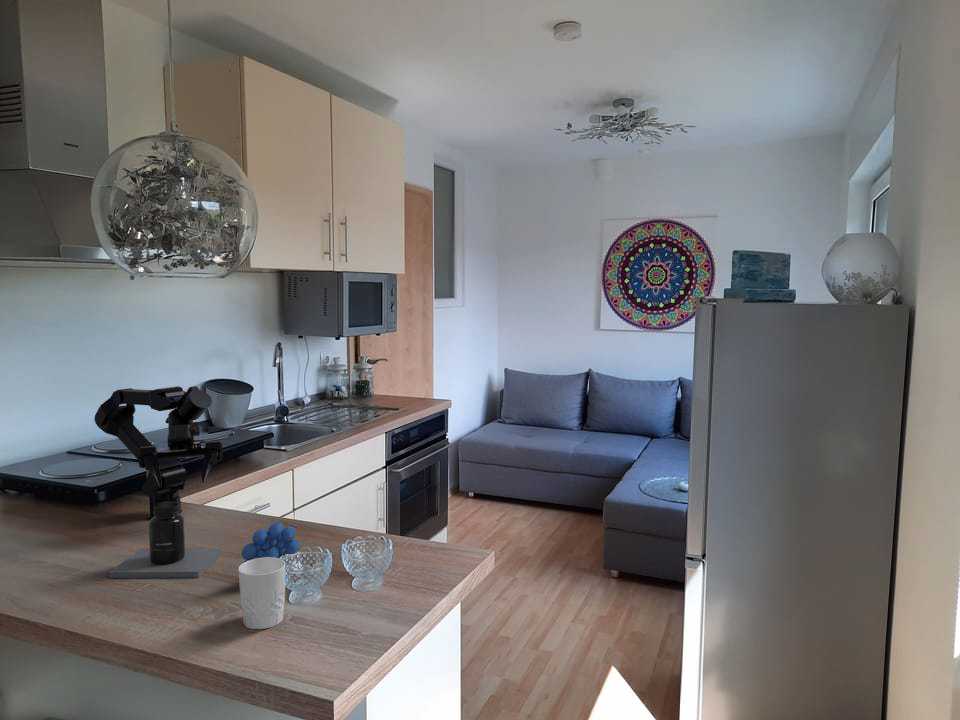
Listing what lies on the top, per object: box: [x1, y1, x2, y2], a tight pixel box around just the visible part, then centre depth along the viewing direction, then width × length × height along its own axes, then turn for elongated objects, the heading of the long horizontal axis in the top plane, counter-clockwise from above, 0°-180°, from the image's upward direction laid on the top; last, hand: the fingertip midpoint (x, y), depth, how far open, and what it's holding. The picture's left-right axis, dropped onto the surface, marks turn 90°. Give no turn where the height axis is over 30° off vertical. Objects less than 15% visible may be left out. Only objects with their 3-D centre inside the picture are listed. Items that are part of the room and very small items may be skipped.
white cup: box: [237, 557, 287, 630], centre depth 116 cm, size 8×8×10 cm
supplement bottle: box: [148, 502, 186, 565], centre depth 141 cm, size 7×7×12 cm
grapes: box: [241, 521, 301, 564], centre depth 133 cm, size 12×7×12 cm, turn 121°
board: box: [109, 547, 224, 579], centre depth 141 cm, size 18×13×1 cm
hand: (182, 484), depth 157 cm, fingers open, 9 cm apart
